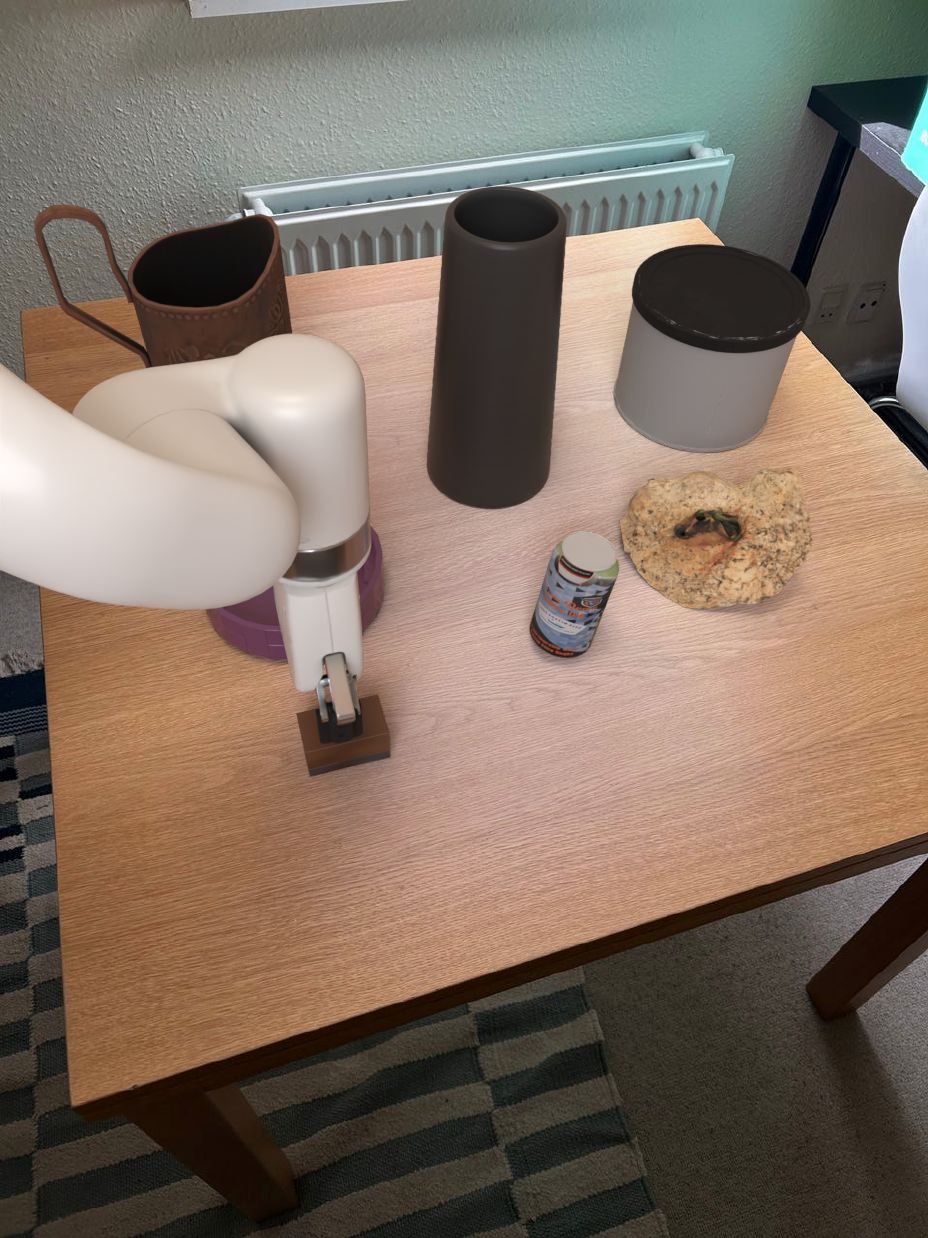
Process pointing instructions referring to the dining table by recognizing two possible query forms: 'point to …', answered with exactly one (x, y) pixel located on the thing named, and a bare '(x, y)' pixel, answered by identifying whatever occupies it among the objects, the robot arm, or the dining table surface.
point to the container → (707, 345)
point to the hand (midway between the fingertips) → (328, 684)
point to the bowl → (258, 619)
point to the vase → (496, 346)
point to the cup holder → (192, 288)
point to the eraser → (351, 752)
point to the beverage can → (574, 594)
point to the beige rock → (718, 536)
